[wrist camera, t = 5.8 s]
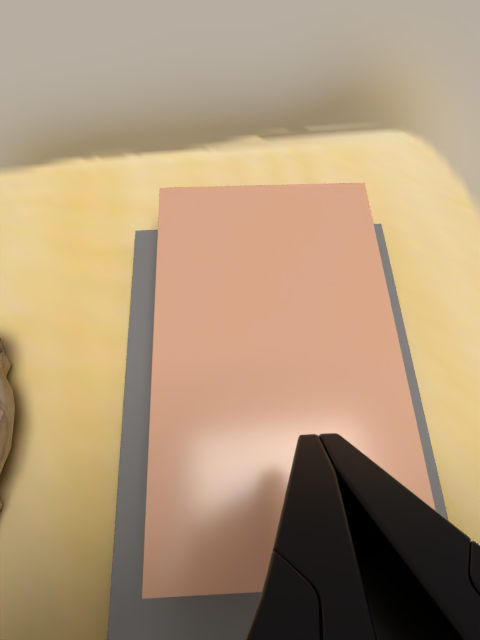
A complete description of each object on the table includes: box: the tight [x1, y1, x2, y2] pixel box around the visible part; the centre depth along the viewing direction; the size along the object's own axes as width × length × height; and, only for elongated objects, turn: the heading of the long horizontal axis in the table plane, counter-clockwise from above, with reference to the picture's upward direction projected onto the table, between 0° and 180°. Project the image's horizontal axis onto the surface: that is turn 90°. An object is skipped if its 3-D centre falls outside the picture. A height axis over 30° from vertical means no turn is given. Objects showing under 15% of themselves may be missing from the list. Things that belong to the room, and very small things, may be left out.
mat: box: [107, 224, 448, 640], centre depth 16 cm, size 20×12×1 cm, turn 3°
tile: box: [142, 183, 436, 599], centre depth 16 cm, size 2×9×15 cm
